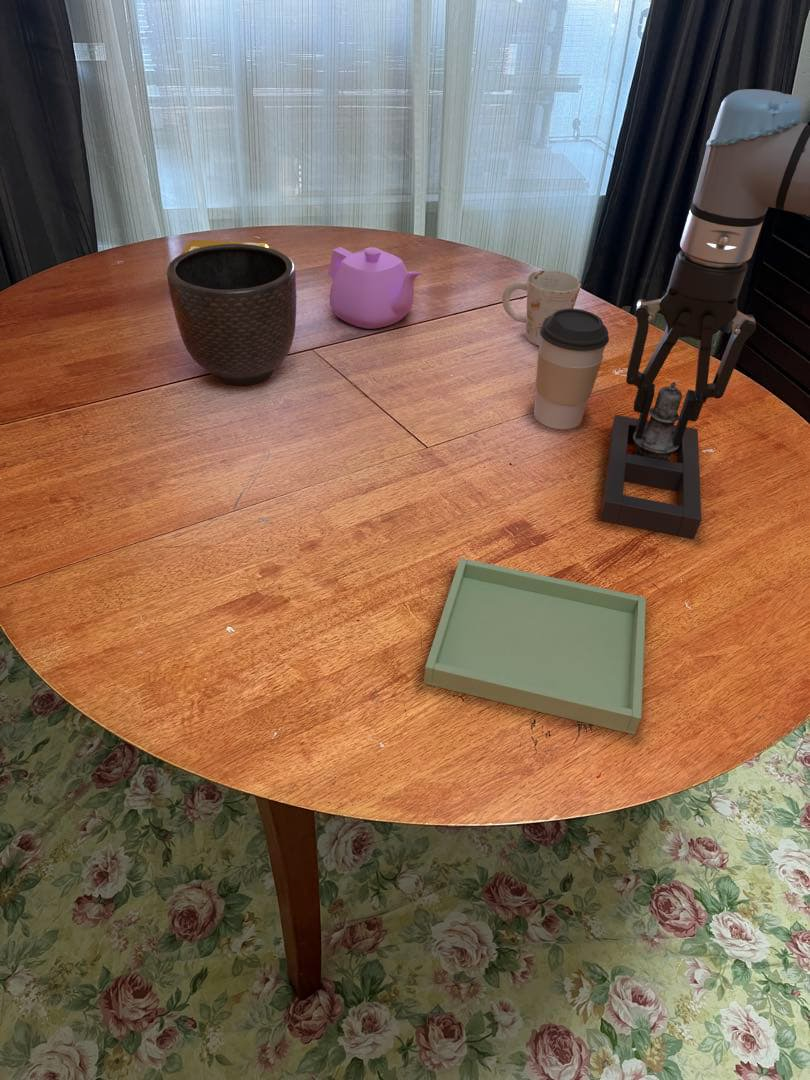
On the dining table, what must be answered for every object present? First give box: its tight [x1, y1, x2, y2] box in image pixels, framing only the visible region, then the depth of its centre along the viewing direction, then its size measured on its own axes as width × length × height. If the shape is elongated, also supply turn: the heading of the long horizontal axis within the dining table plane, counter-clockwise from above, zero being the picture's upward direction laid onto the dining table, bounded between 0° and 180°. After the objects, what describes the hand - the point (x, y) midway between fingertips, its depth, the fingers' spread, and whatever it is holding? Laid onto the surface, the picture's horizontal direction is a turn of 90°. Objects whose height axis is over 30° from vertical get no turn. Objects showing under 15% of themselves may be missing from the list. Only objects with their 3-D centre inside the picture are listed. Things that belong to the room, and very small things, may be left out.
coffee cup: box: [533, 308, 610, 430], centre depth 103 cm, size 9×9×15 cm
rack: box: [599, 414, 702, 540], centre depth 96 cm, size 11×20×3 cm, turn 165°
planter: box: [166, 244, 297, 387], centre depth 109 cm, size 17×17×16 cm
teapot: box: [328, 246, 422, 330], centre depth 127 cm, size 13×20×11 cm
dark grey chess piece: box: [631, 381, 683, 461], centre depth 97 cm, size 6×6×12 cm
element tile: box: [181, 239, 270, 254], centre depth 137 cm, size 15×15×5 cm
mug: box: [501, 269, 582, 347], centre depth 124 cm, size 8×13×10 cm, turn 61°
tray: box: [423, 557, 647, 736], centre depth 75 cm, size 20×16×2 cm
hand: (657, 436), depth 98 cm, fingers closed on dark grey chess piece, 4 cm apart
